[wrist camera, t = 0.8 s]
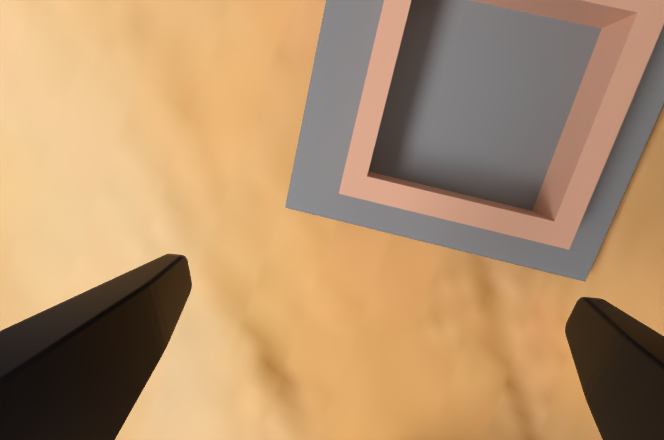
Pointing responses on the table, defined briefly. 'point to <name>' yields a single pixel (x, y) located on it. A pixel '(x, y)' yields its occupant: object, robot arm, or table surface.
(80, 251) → the table surface
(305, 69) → the table surface
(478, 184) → the awning stand
